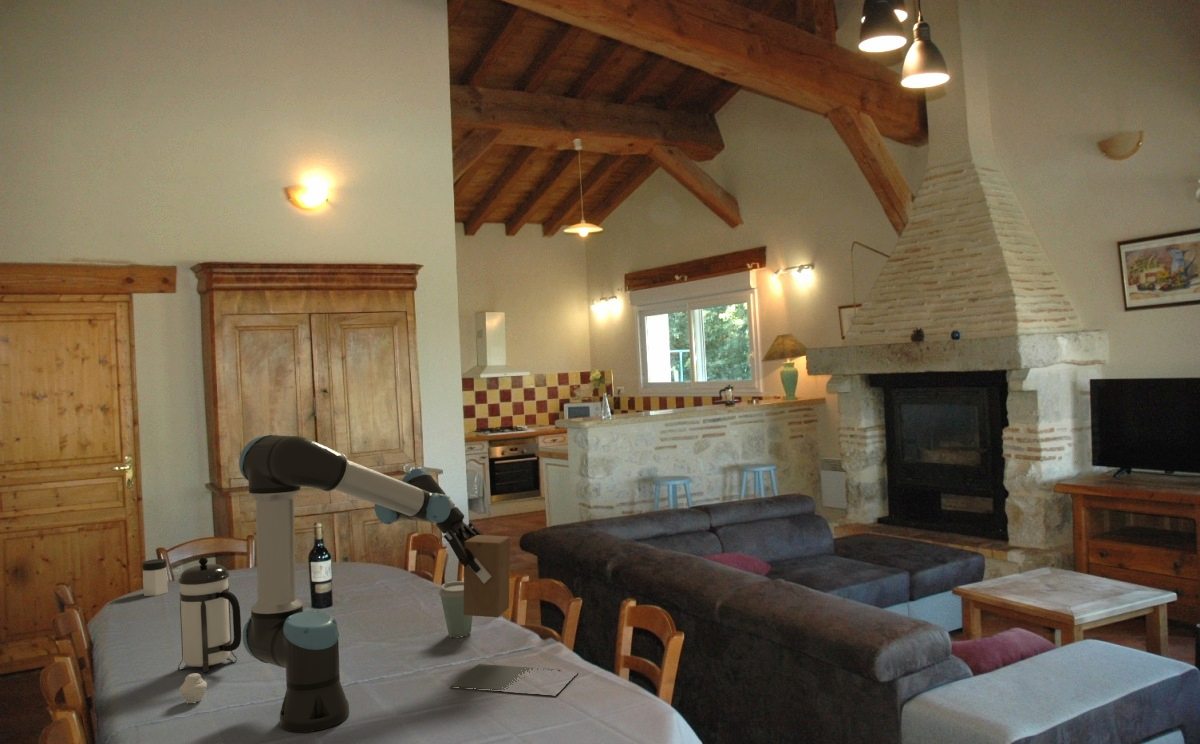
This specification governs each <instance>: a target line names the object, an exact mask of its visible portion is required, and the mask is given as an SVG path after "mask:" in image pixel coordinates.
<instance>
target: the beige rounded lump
mask: <svg viewBox="0 0 1200 744" xmlns="http://www.w3.org/2000/svg"><path fill="white" fill-rule="evenodd" d="M184 678H185V679H184V681H183V683H182V685H181V686H180V688H179V692H180V694H181V696H182V698H183V699H184V701H185V702H186V703H187V702H188V703H193V702H197V701H200V700H201V701H202V700H203V698H204V697H205V693H206V691H207V688H208V683H207V682H206V681H205V680H204V679H203V678H202V675H201V674H200V673H195V672H194V673H193V672H192V673H190V674H187V676H186V677H184ZM201 701H200V702H201ZM188 703H187V704H188Z"/></svg>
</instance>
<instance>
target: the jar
mask: <svg viewBox="0 0 1200 744" xmlns="http://www.w3.org/2000/svg"><path fill="white" fill-rule="evenodd" d="M167 564H168V563H167V559H165V558H155V559H150V560H149V559H148V560H145V561H143V562H142V563H141V569H142V587H143V595H144V597H152V596H154V597H157V596H160V595H163V594H167V593H168V572H167V571H168V569H167V566H168V565H167Z"/></svg>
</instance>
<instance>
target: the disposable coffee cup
mask: <svg viewBox="0 0 1200 744" xmlns="http://www.w3.org/2000/svg"><path fill="white" fill-rule="evenodd" d="M438 594H439V596H440V600H441V604H442V610H443V613H444V618H445V623H446V628H447V632H448V635H449V637H450V636H452V637H451V638H453V637H460V638H462V637H461V636H465V637H467V636H466V635H468V634H469V635H471V632H472V625H473V616H470V615H464V613H463V612H464V581H461V580H459V581H458V580H456V581H455V580H454V581H448V582H445V583H442V584H441V585H440V589H439V590H438ZM469 635H468V636H469Z"/></svg>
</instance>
